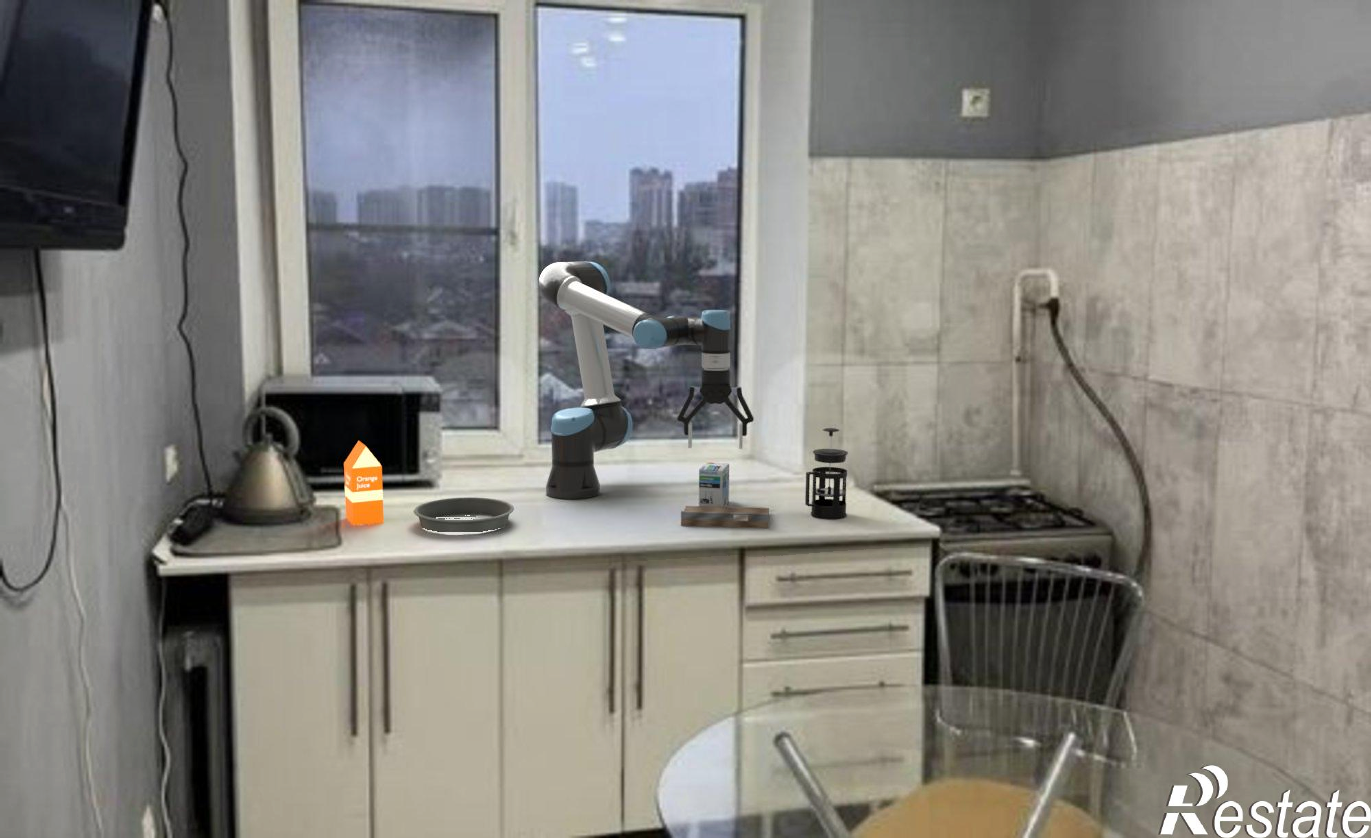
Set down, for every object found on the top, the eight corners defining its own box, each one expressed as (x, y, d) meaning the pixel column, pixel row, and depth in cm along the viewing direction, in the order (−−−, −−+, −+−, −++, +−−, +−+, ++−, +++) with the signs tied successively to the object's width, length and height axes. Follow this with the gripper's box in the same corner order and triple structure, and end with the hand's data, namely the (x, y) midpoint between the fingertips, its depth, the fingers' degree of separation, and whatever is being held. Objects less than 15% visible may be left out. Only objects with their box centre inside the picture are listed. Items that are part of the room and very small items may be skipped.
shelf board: (680, 525, 297) (680, 512, 297) (685, 511, 312) (685, 498, 312) (768, 528, 296) (768, 514, 295) (769, 513, 311) (769, 500, 310)
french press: (839, 509, 316) (841, 424, 312) (855, 517, 307) (858, 430, 303) (798, 512, 312) (801, 426, 308) (813, 521, 303) (816, 432, 300)
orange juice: (353, 526, 294) (349, 447, 291) (345, 518, 302) (342, 441, 299) (384, 522, 298) (381, 444, 295) (376, 514, 306) (373, 438, 302)
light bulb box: (722, 510, 314) (723, 470, 312) (697, 509, 315) (698, 469, 314) (729, 501, 324) (730, 462, 323) (705, 499, 326) (705, 461, 324)
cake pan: (471, 543, 281) (471, 525, 280) (393, 529, 292) (392, 511, 292) (533, 521, 302) (533, 504, 301) (458, 509, 314) (458, 492, 313)
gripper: (667, 369, 311) (667, 449, 314) (762, 370, 309) (761, 450, 312) (670, 366, 318) (670, 444, 322) (763, 367, 316) (762, 445, 320)
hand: (715, 447), depth 317 cm, fingers open, 13 cm apart
